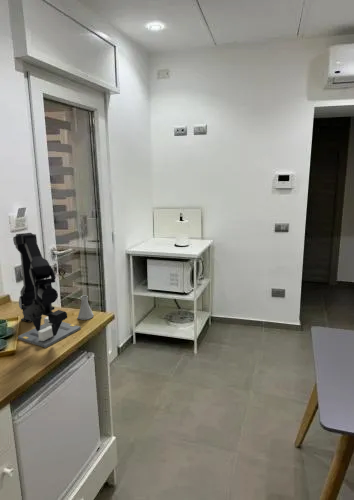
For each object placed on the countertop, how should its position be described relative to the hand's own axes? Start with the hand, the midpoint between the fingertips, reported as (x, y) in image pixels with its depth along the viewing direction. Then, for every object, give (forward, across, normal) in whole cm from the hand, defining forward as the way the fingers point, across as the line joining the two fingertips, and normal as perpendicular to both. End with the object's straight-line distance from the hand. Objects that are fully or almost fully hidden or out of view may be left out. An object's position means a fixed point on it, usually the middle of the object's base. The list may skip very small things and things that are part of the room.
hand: (46, 333), depth 143 cm
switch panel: (+3, -4, +5) cm, 7 cm away
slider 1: (+2, -8, +10) cm, 13 cm away
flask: (+4, -3, +25) cm, 25 cm away
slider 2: (+2, 0, 0) cm, 2 cm away
